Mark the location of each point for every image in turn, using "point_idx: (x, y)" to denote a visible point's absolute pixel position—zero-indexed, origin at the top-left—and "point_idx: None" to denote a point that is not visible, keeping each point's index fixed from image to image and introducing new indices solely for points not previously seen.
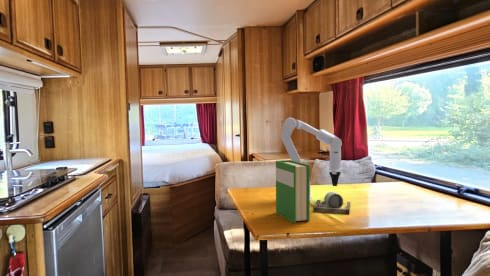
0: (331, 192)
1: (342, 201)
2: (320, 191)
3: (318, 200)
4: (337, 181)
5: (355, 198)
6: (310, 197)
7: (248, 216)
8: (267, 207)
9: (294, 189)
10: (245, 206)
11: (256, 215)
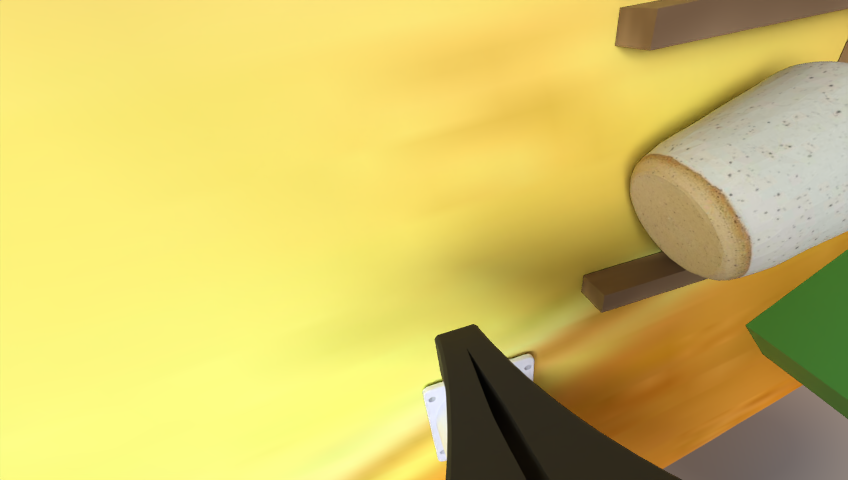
0: (812, 240)
1: (839, 71)
2: (83, 466)
3: (615, 301)
4: (528, 379)
5: (134, 16)
6: (433, 396)
7: (793, 387)
8: (673, 416)
9: None
10: (658, 463)
11: (786, 378)
